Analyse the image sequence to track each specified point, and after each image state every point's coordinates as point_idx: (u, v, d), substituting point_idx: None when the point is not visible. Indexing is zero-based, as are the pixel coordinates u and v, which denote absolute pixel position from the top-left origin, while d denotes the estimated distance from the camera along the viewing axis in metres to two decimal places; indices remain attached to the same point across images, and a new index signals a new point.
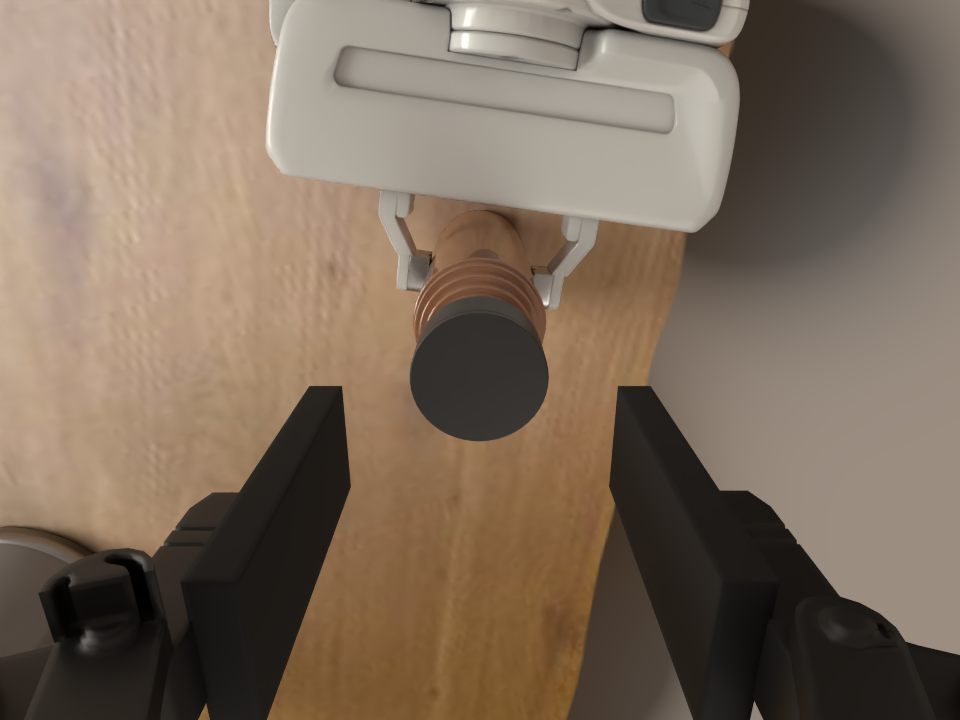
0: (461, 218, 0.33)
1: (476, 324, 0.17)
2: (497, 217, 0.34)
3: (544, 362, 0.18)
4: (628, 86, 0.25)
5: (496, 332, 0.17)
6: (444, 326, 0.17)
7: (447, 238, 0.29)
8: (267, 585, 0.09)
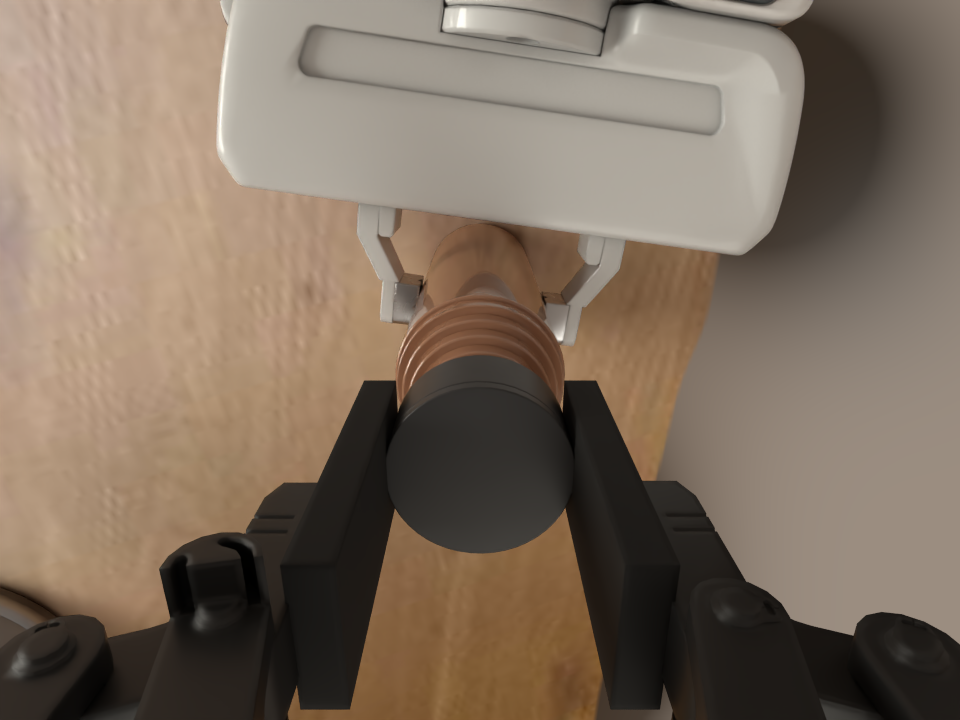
0: (458, 234, 0.28)
1: (476, 402, 0.12)
2: (500, 232, 0.29)
3: (570, 452, 0.13)
4: (665, 76, 0.20)
5: (504, 413, 0.12)
6: (431, 405, 0.12)
7: (441, 260, 0.24)
8: (352, 569, 0.09)
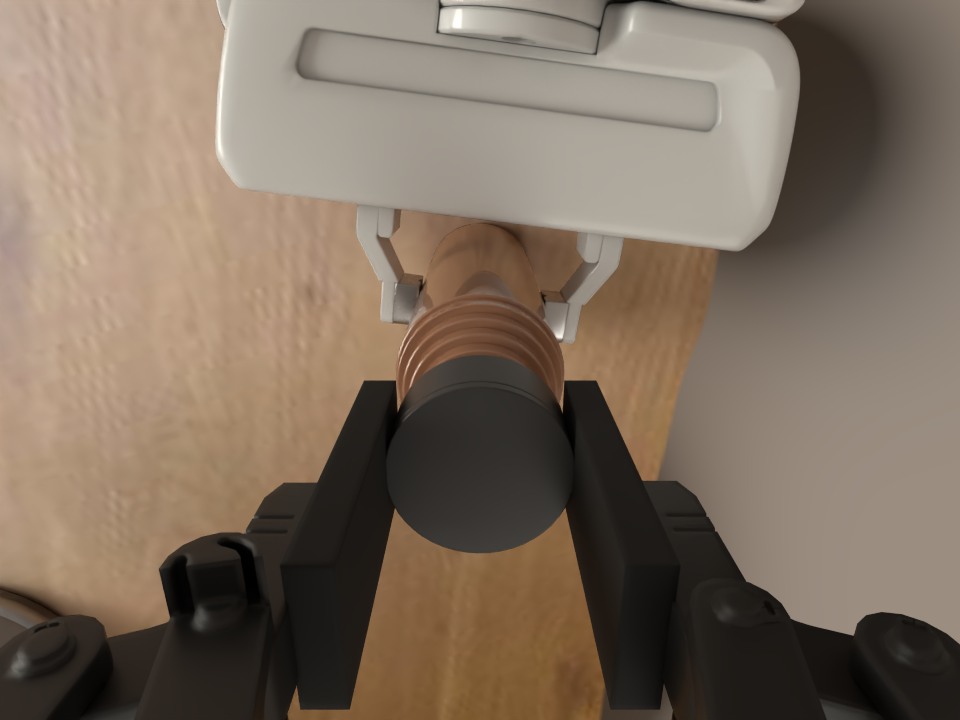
0: (457, 233, 0.29)
1: (424, 522, 0.13)
2: (499, 231, 0.29)
3: (399, 431, 0.13)
4: (661, 74, 0.20)
5: (414, 499, 0.13)
6: (453, 546, 0.14)
7: (440, 260, 0.24)
8: (351, 570, 0.09)
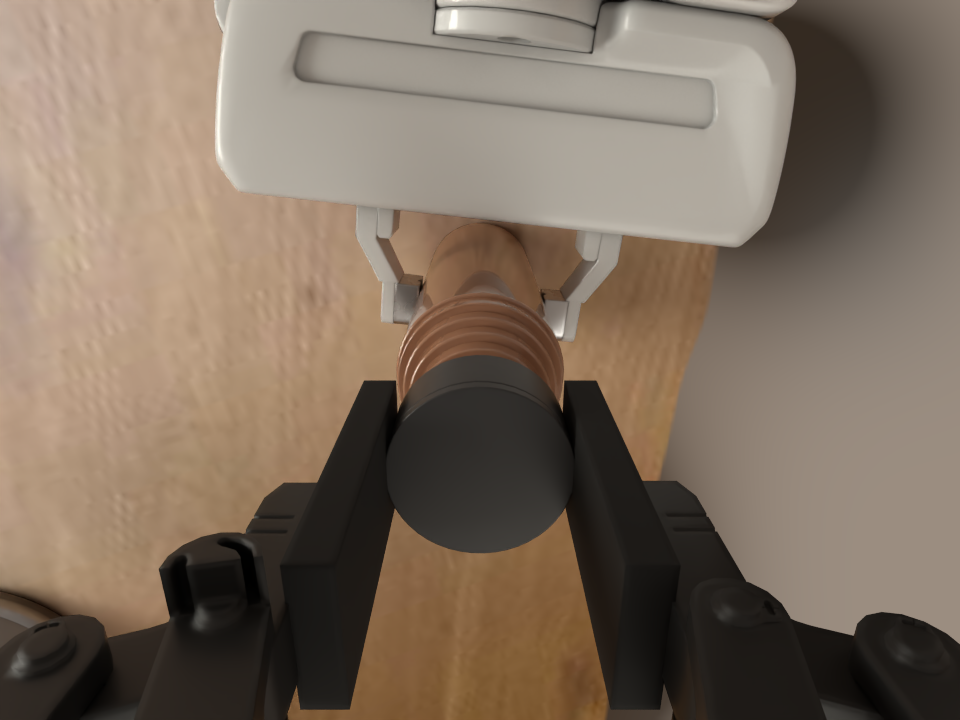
0: (457, 233, 0.29)
1: (560, 480, 0.13)
2: (499, 231, 0.29)
3: (494, 550, 0.14)
4: (657, 71, 0.20)
5: (544, 502, 0.13)
6: (564, 443, 0.13)
7: (440, 260, 0.24)
8: (352, 570, 0.09)
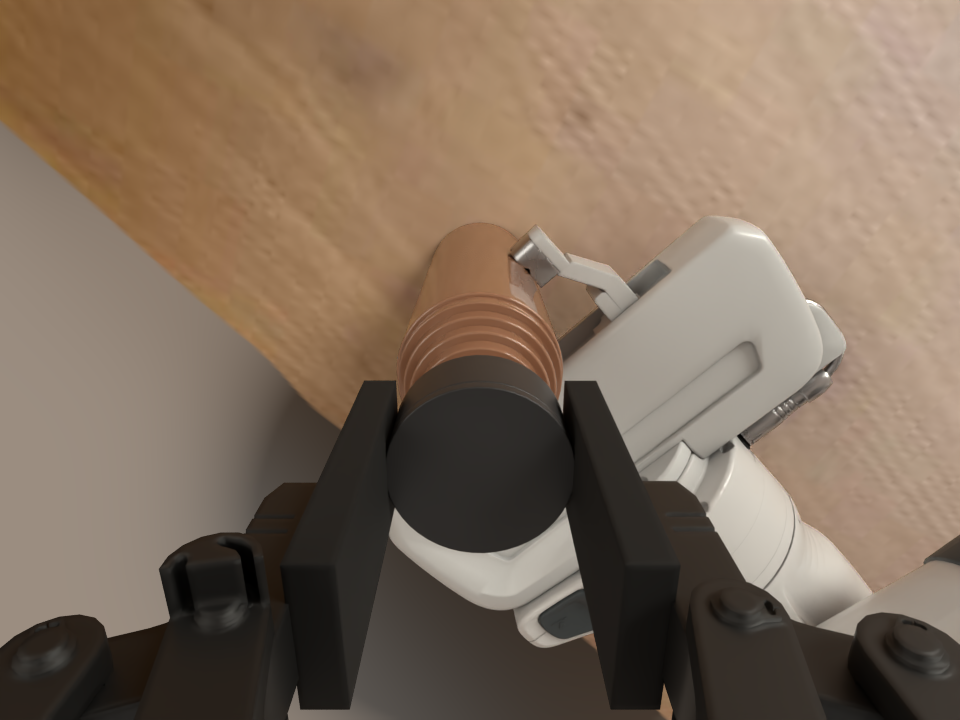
0: None
1: (559, 480, 0.13)
2: None
3: (494, 550, 0.14)
4: (541, 538, 0.27)
5: (544, 502, 0.13)
6: (564, 443, 0.13)
7: None
8: (352, 569, 0.09)
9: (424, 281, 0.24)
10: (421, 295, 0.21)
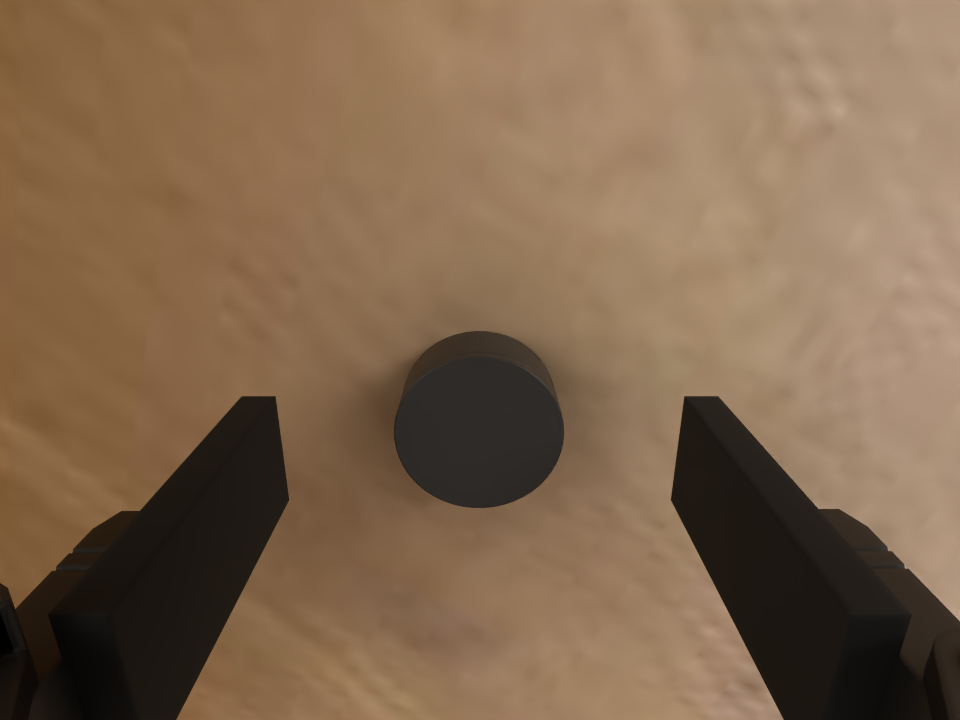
0: None
1: (549, 441, 0.15)
2: None
3: (491, 505, 0.15)
4: None
5: (536, 460, 0.15)
6: (553, 407, 0.14)
7: None
8: (157, 613, 0.09)
9: None
10: None
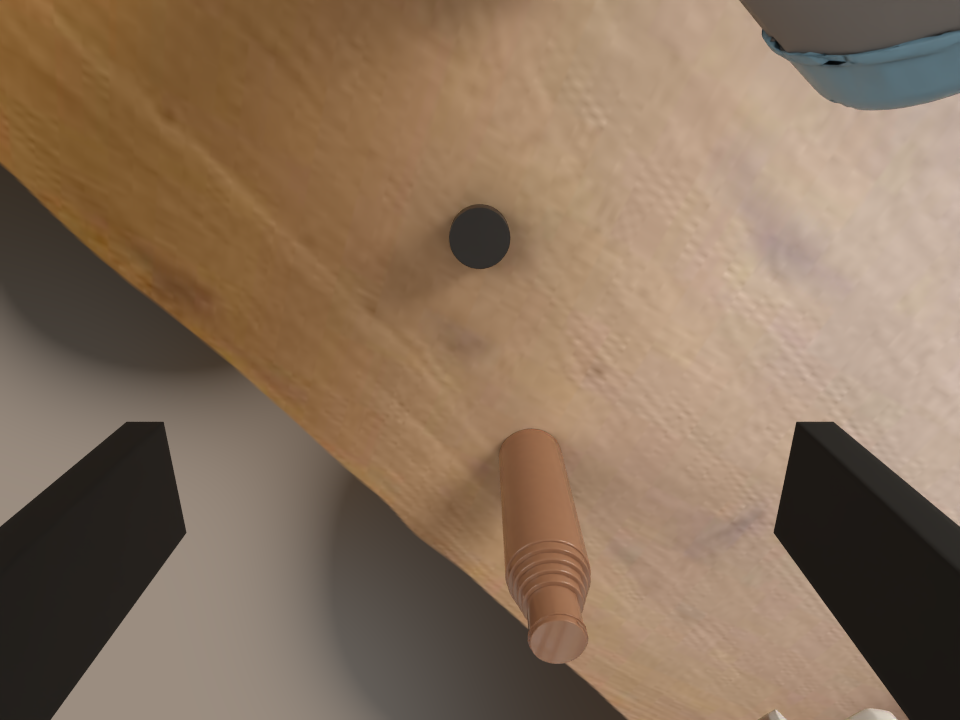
0: None
1: (505, 240, 0.41)
2: None
3: (484, 267, 0.42)
4: None
5: (500, 248, 0.41)
6: (506, 227, 0.41)
7: None
8: None
9: (506, 491, 0.42)
10: (511, 517, 0.39)
